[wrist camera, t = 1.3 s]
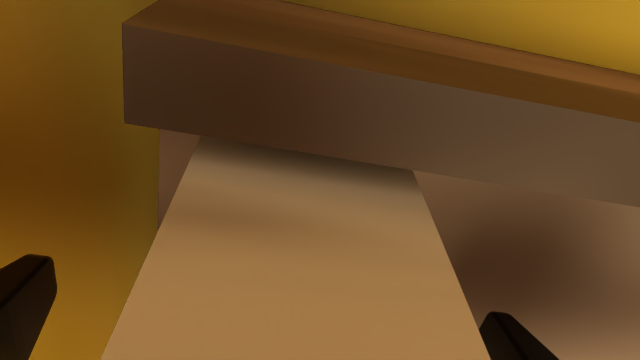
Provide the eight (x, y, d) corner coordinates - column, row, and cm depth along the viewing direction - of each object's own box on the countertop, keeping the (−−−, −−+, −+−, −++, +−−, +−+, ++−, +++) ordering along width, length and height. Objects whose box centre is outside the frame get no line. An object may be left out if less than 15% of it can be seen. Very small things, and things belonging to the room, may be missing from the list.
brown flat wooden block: (756, 406, 19) (857, 518, 15) (171, 347, 16) (134, 470, 12) (1052, 160, 13) (1331, 254, 9) (186, -19, 9) (121, 23, 6)
